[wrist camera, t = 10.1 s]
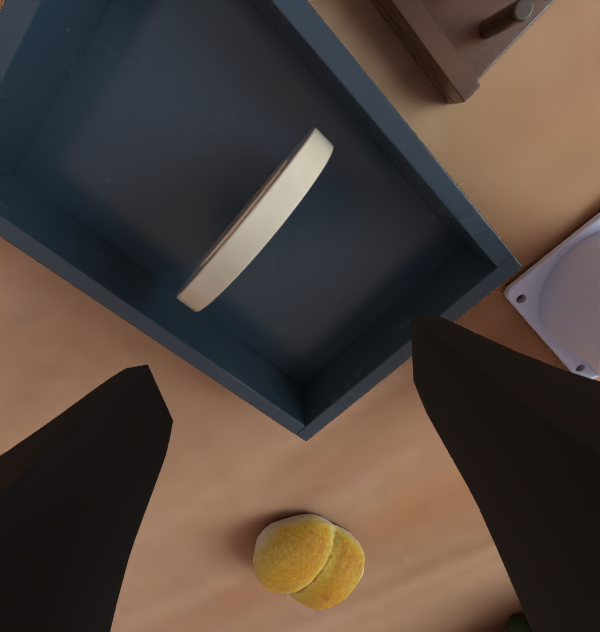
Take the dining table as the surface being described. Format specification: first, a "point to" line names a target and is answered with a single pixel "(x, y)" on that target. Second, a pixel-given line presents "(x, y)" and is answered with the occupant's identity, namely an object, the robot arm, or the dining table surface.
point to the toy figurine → (518, 624)
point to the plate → (257, 221)
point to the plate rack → (459, 36)
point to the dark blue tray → (232, 191)
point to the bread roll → (308, 560)
